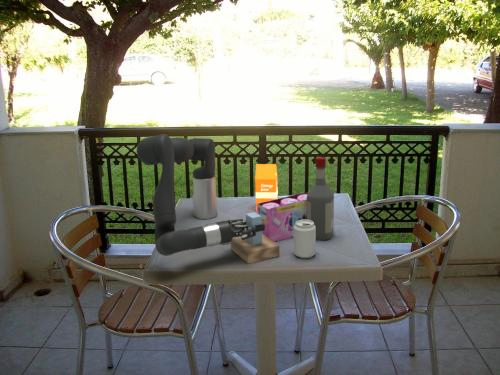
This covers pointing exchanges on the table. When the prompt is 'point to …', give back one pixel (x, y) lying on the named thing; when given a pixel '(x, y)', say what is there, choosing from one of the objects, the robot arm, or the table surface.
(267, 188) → the orange juice
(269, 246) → the wooden slab
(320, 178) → the liquor
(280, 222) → the gum box
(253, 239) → the block
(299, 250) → the can
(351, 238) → the table surface
